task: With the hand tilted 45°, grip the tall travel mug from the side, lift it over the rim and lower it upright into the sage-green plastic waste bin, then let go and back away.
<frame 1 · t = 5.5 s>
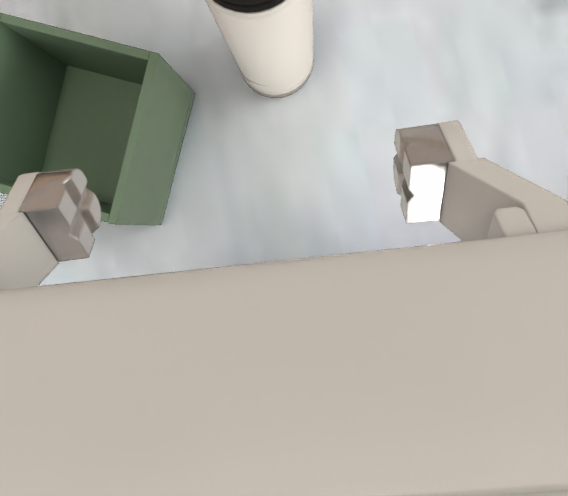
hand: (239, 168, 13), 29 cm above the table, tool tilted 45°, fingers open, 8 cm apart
travel mug: (277, 63, 42), on the table
waste bin: (114, 142, 43), on the table
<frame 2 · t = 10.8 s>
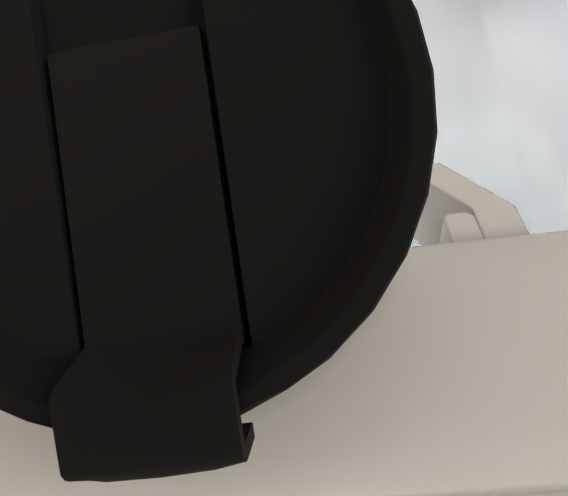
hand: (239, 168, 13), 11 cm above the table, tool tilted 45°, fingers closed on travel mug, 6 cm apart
travel mug: (277, 208, 24), on the table, touching gripper
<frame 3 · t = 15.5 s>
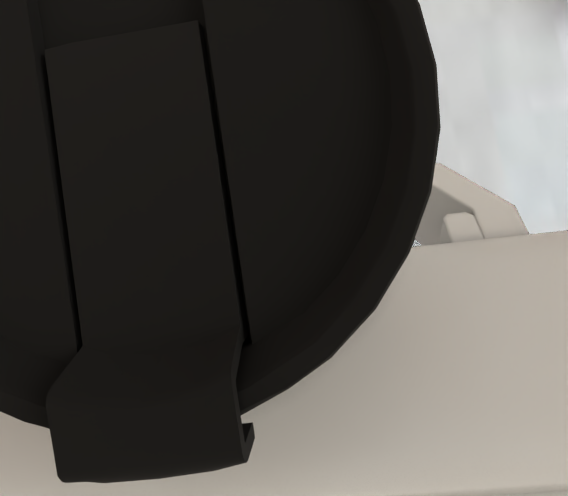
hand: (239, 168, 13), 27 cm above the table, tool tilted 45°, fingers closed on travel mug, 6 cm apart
travel mug: (277, 207, 24), point 16 cm above the table, touching gripper
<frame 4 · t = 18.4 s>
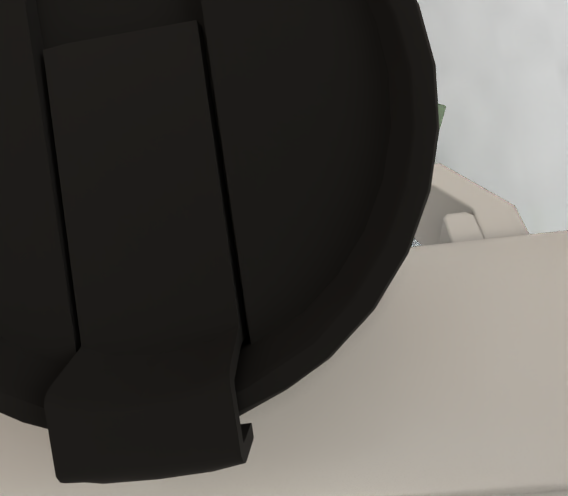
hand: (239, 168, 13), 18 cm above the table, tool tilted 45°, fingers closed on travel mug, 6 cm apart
travel mug: (277, 207, 24), point 6 cm above the table, touching gripper
when the fingers open (12 cm above the table, at t = 20.6 s): travel mug stays where it is, resting on waste bin.
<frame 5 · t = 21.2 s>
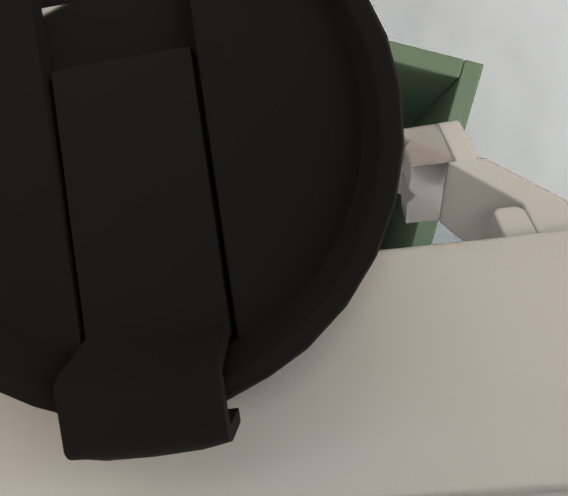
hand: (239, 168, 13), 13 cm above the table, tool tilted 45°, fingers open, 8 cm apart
travel mug: (272, 209, 25), point 1 cm above the table, touching waste bin
waste bin: (275, 209, 25), on the table
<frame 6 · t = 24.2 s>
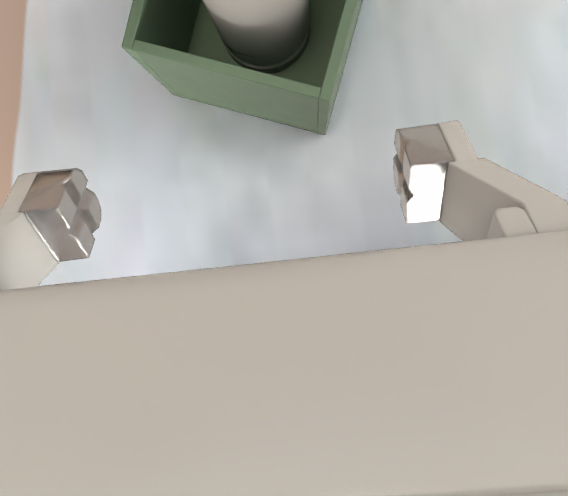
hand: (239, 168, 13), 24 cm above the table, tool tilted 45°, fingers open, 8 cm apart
travel mug: (266, 33, 35), point 1 cm above the table, touching waste bin
waste bin: (269, 36, 36), on the table
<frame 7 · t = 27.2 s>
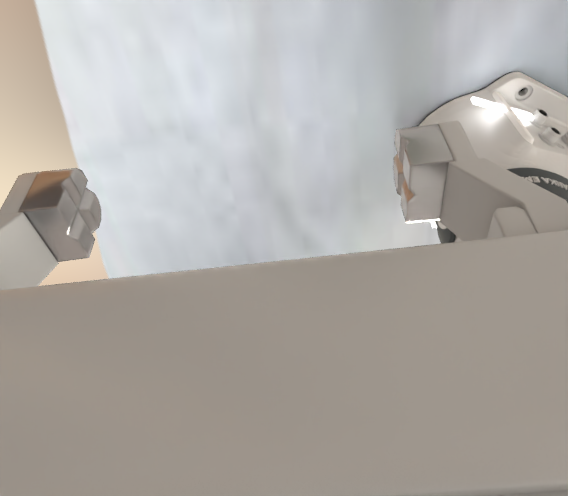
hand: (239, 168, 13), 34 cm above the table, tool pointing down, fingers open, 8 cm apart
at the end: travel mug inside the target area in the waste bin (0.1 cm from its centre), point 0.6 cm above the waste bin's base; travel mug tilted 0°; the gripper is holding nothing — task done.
